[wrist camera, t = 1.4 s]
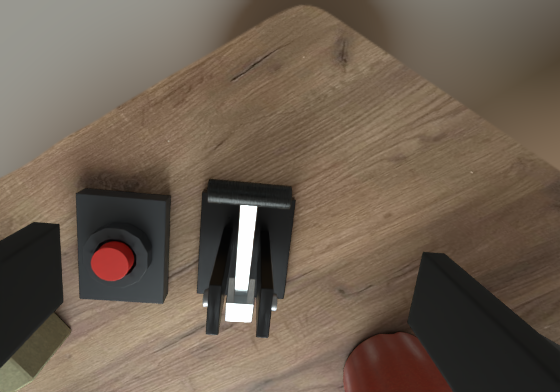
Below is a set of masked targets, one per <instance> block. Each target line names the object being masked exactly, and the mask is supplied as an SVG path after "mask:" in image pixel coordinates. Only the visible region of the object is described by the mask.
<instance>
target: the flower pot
mask: <svg viewBox="0 0 560 392" xmlns="http://www.w3.org/2000/svg"><path fill="white" fill-rule="evenodd" d="M343 372H344V375H343V382H344V389H345V392H453V391H452V389H451V388H450V386H449V385H448V383H447V382H446V380H445V379H444V377H443V376H442V374H441V373H440V371H439V370H438V368H437V367H436V365H435V364H434V362H433V361H432V359H431V358H430V356H429V354H428V353H427V351H426V350H425V348H424V347H423V345H422V344H421V342H420V341H419V339H418V338H417V337H416V336H413V335H411V334H408V333H403V332H396V333H395V334H378V335H375V336H372V337H370V338H368V339H367V340H365V341H364V342H362V343H361V344H360V345H358V346H357V347H356V348H355V349H354V350H353V352H352V353H351V354H350V356H349V357H348V359H347V361H346V363H345V366H344V370H343Z"/></svg>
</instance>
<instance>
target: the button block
mask: <svg viewBox="0 0 560 392" xmlns="http://www.w3.org/2000/svg"><path fill="white" fill-rule="evenodd" d="M170 205H171V196H169V195H157V194H145V193H134V192H122V191H111V190H99V189H88V188H85V189H83V190H82V191H80V192H78V193H76V210H77V238H78V266H79V294H80V299H94V300H110V301H126V302H142V303H158V304H163V303H164V300H165V298H166V296H167V294H168V267H169V236H170ZM110 241H119V242H122V243H124V244H126V245H127V246H128V247H129V248H130V249H131V250H132V252H133V255H134V263H133V265H132V267H131V268H130V270H129V271H128V272H127V274H126V275H125V276H124V277H123V278H121V279H119V280H116V281H107V280H104V279H101V278H100V277H98V276H97V275H96V274H95V273H94V271H93V270H92V267H91V259H92V256H93V254H94V253H95V252H96V251H97V250H98V249H99V248H100V247H101V246H102V245H104V244H105V243H107V242H110Z"/></svg>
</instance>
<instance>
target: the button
mask: <svg viewBox="0 0 560 392" xmlns="http://www.w3.org/2000/svg"><path fill="white" fill-rule="evenodd" d="M133 263H134V255H133V252H132V250H131V249H130V248H129V247H128V246H127V245H126V244H124V243H122V242H119V241H110V242H107V243H105V244H104V245H102V246H101V247H100V248H99V249H98V250H97V251H96V252H95V253H94V254H93V256H92V259H91V267H92V270H93V271H94V273H95V274H96V275H97V276H98V277H100V278H101V279H104V280H107V281H116V280H119V279H121V278H123V277H124V276H125V275H126V274H127V272H128V271H129V270H130V268H131V267H132V265H133Z"/></svg>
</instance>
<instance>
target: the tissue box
mask: <svg viewBox="0 0 560 392" xmlns="http://www.w3.org/2000/svg"><path fill="white" fill-rule="evenodd" d="M70 333H71V330H70V329H69V328H68V327H67V326H66V325H65V323H64V322H63V321H62V320H61V319H60V318H59V317H58V316H57V315H56V314H55V313H54V312H53V313H52V314H51V315H50V317H49V318H48V319H47V320H46V321H45V322H44V323H43V324H42V325H41V326H40V327H39V328H38V329H37V330H36V331H35V332H34V333H33V335H32V336H31V337H30V338H29V339H28V340H27V341H26V342H25V343H24V344H23V345H22V346H21V347H20V348H19V349H18V350H17V351H16V352H15V354H14V355H13V356H12V357H11V358H10V359H9V360H8V361H7V362H6V363H5V364H4V365H3V366H2V367H1V368H0V392H16V391H17V390H19V389H21V388H22V387H24V386H25V385H27V384H28V383H30V382H32V381H33V380H34V379H35V377H36V376H37V375H38V374H39V372H40V371H41V370H42V369H43V367H44V366H45V365H46V363H47V362H48V361H49V360H50V358H51V357H52V356H53V355H54V353H55V352H56V351H57V350H58V348H59V347H60V346H61V345H62V343H63V342H64V341H65V340H66V338H67V337H68V336H69V334H70Z"/></svg>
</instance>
